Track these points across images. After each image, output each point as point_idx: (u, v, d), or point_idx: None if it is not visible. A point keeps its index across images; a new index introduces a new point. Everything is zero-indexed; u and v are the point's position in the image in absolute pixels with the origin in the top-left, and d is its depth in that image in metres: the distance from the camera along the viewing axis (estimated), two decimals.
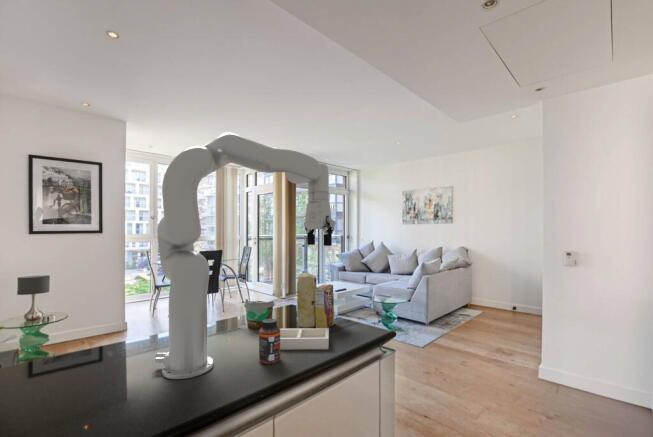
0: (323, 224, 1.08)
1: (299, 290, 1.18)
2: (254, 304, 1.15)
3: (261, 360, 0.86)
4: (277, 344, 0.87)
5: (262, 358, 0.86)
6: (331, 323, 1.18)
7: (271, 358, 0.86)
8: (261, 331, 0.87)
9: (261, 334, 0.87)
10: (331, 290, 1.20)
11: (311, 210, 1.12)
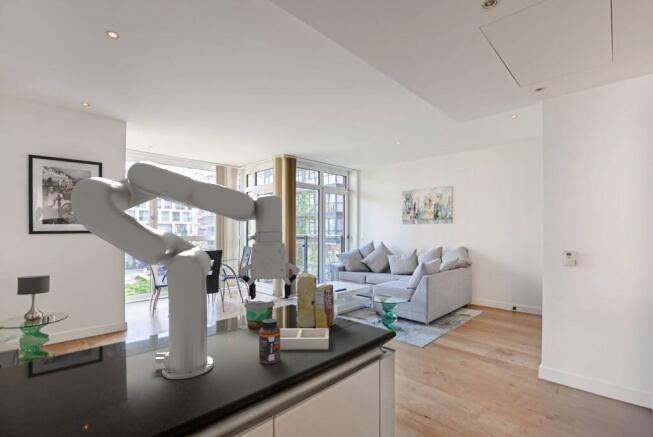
0: (286, 272, 0.87)
1: (299, 290, 1.18)
2: (254, 304, 1.15)
3: (261, 360, 0.86)
4: (277, 344, 0.87)
5: (262, 358, 0.86)
6: (331, 323, 1.18)
7: (271, 358, 0.86)
8: (261, 331, 0.87)
9: (261, 334, 0.87)
10: (331, 290, 1.20)
11: (265, 255, 0.87)
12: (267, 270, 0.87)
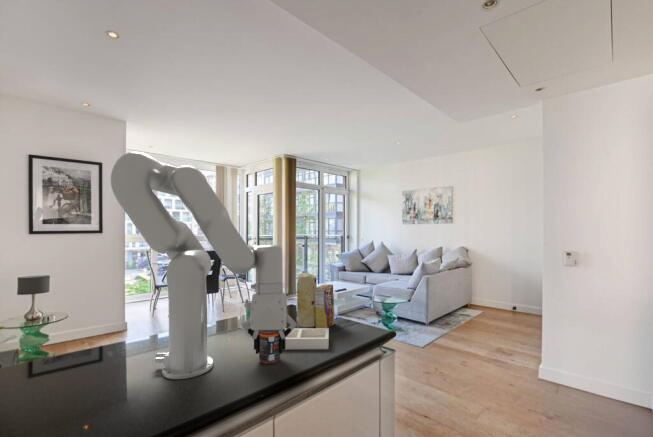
0: (286, 324, 0.87)
1: (299, 290, 1.18)
2: None
3: (261, 360, 0.86)
4: (278, 344, 0.87)
5: (262, 358, 0.86)
6: (331, 323, 1.18)
7: (271, 358, 0.86)
8: (261, 331, 0.87)
9: (261, 334, 0.87)
10: (331, 290, 1.20)
11: (265, 306, 0.86)
12: (267, 322, 0.86)
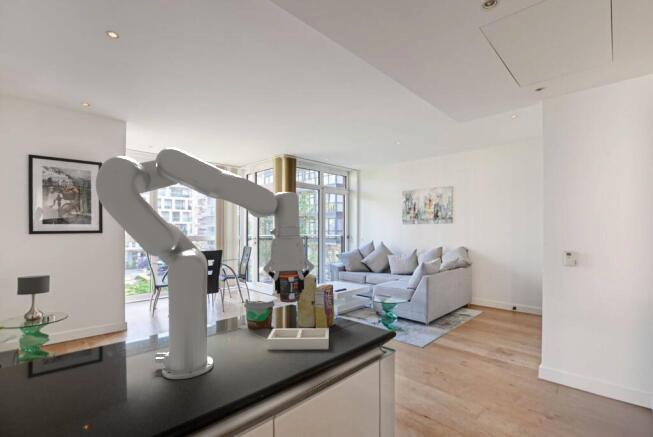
0: (304, 265, 0.92)
1: None
2: (254, 304, 1.15)
3: (282, 299, 0.92)
4: (297, 284, 0.93)
5: (283, 297, 0.92)
6: (331, 323, 1.18)
7: (291, 297, 0.91)
8: (281, 272, 0.93)
9: (281, 275, 0.92)
10: (331, 290, 1.20)
11: (284, 248, 0.92)
12: (287, 263, 0.92)
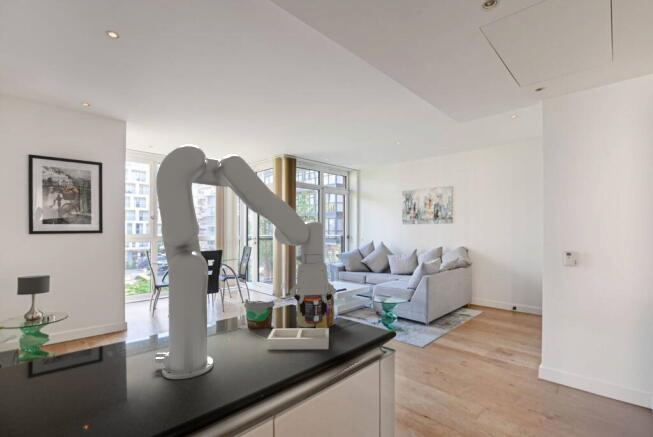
0: None
1: None
2: (254, 304, 1.15)
3: (307, 321, 0.99)
4: (321, 307, 1.00)
5: (308, 319, 0.99)
6: (331, 323, 1.18)
7: (316, 319, 0.99)
8: (306, 296, 1.00)
9: (306, 298, 1.00)
10: None
11: (310, 274, 0.99)
12: (312, 288, 0.99)
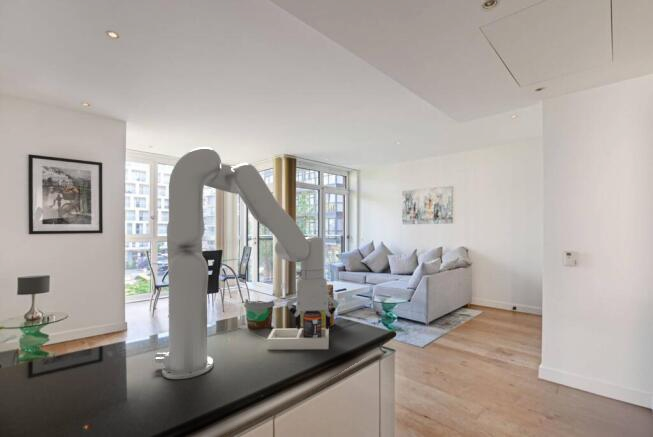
0: None
1: None
2: (254, 304, 1.15)
3: None
4: (320, 326, 1.00)
5: None
6: (331, 323, 1.18)
7: None
8: (306, 315, 1.00)
9: (305, 317, 0.99)
10: (331, 290, 1.20)
11: (310, 290, 0.99)
12: (312, 303, 0.99)
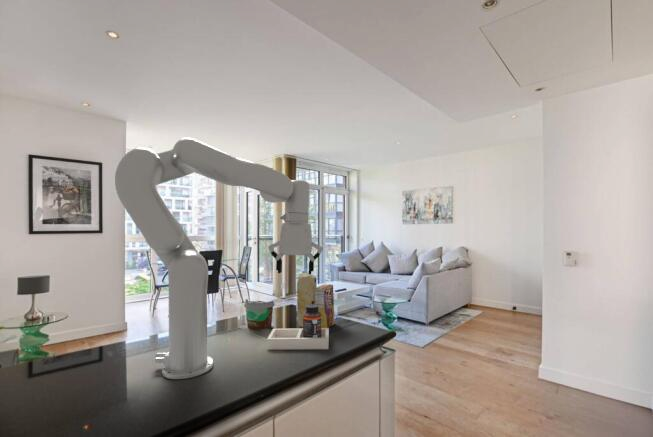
0: (311, 250, 0.97)
1: (299, 290, 1.18)
2: (254, 304, 1.15)
3: None
4: (320, 326, 1.00)
5: None
6: (331, 323, 1.18)
7: None
8: (305, 315, 1.00)
9: (305, 317, 0.99)
10: (331, 290, 1.20)
11: (293, 233, 0.97)
12: (294, 247, 0.96)
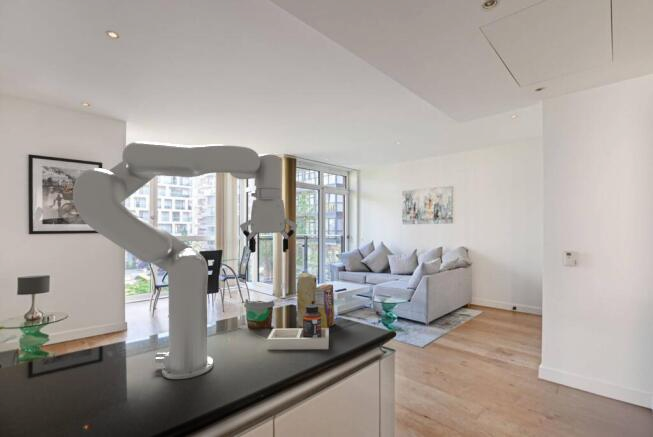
0: (284, 227, 0.93)
1: (299, 290, 1.18)
2: (254, 304, 1.15)
3: None
4: (320, 326, 1.00)
5: None
6: (331, 323, 1.18)
7: None
8: (305, 315, 1.00)
9: (305, 317, 0.99)
10: (331, 290, 1.20)
11: (264, 210, 0.92)
12: (266, 224, 0.92)
